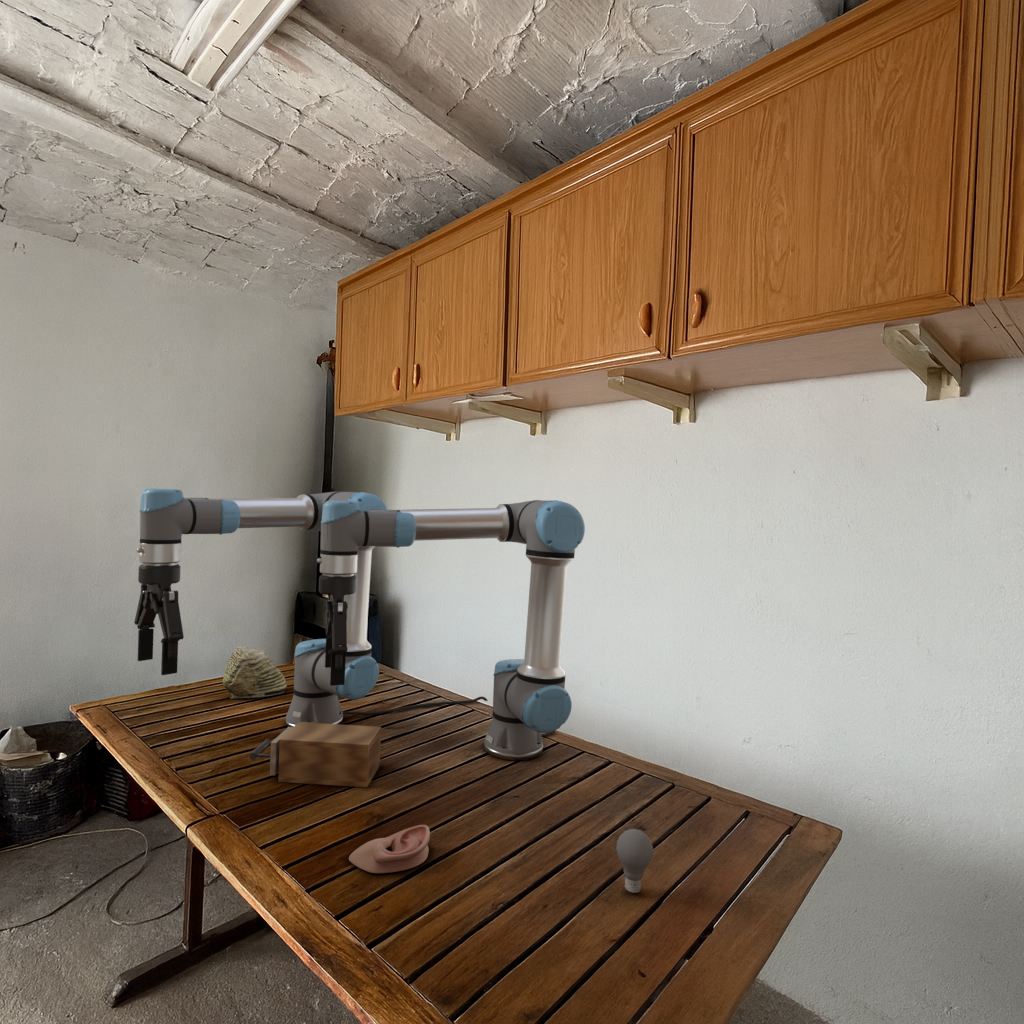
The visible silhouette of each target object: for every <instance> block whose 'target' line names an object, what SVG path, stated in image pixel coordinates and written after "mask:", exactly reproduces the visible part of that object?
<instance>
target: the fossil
mask: <svg viewBox="0 0 1024 1024" xmlns="http://www.w3.org/2000/svg"><path fill="white" fill-rule="evenodd" d="M222 676H223V677H222V685H223V687H224V688H225V690H226V691H228V693H229V698H230V699H250V698H264V697H271V696H275V695H281V694H284V693H285V691H286V689H287V687H288V686H287V680H286V678H285V676H284V674H283V673H282V672H281V669H279V668H278V667H277V665H276V663H275V662H274V660H273V659H272V658H271V657H270V656H269V655H268V654H267V653H266V652H265V650H264V649H263V648H260V647H258V648H251V647H247V646H246V647H245V646H238V647H237V648H236V649H235V650H233V651H232V653H231V656H230V657H229V659H228V660H227V663H226V666H225V668H224V671H223V675H222Z"/></svg>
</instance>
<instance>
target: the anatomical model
mask: <svg viewBox="0 0 1024 1024" xmlns="http://www.w3.org/2000/svg"><path fill="white" fill-rule="evenodd" d="M430 838H431V830H430V827H429V826H428V825H427V824H419V825H413V826H411V827H409V828H405V829H403V830H400V831H398V832H396V833H393V834H391V835H389V836H386V837H379V838H375V839H372V840H369V841H367V842H365V843H364V844H362V845H360V846H358V848H356V849H355V850H353V852H352V853H350V855H349V857H348V860H349V862H350V863H351V864H352V865H354V866H356V867H357V868H358V869H361V870H363V871H365V872H367V873H369V874H370V873H371V874H387V873H388V874H389V873H396V872H401V871H405V870H409V869H412V868H415V867H418V866H419V865H421V864H422V863H425V861H426V860H427V859H428V856H429V842H430Z"/></svg>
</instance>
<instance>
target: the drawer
mask: <svg viewBox="0 0 1024 1024" xmlns="http://www.w3.org/2000/svg"><path fill="white" fill-rule="evenodd" d="M292 728H293V727H286V728H285V729H284V730H283V731H282V732H280V734H279V735H277V736H276V737H275V738H274V739H273V740H271V739H270V738H265V740H264V741H262V742H261V743H260V744H259V745H258V746H257V747H256V748H254V749H253V750H252V751H250V752H249V755H248V758H249V759H250V760H253V761H254V760H256V759H257V758H264V759H270V760H269V761H270V763H269V776H276V775H277V774H279V749H280V739H281V738H282V737H283V736H284V735H285V734H286V733H287V732H289V731H290V730H291V729H292ZM269 747H270V754H269V753H264V752H265V751H266V750H267V749H268V748H269Z"/></svg>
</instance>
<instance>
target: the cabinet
mask: <svg viewBox="0 0 1024 1024" xmlns="http://www.w3.org/2000/svg"><path fill="white" fill-rule="evenodd" d="M381 736H382V726H373V725H358V724H357V725H356V724H355V725H354V724H323V723H306V722H298V723H297V724H296V725H295V726H294V727H293V728H292V729H291V730H290V731H289V732H287V733H286V734H285V735H284V736H283V737H282V738H281V739H280V749H279V772H278V775H277V776H278V777H277V778H278V779H277V782H278V783H290V784H291V783H293V784H306V785H307V784H308V785H320V786H321V785H322V786H324V785H325V786H337V787H338V786H339V787H354V788H368V787H369V785H370V783H371V781H372V780H373V778H374V776H375V775H376V773H377V772H378V770H379V768H380V766H381V764H380V763H381V741H382V737H381Z"/></svg>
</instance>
